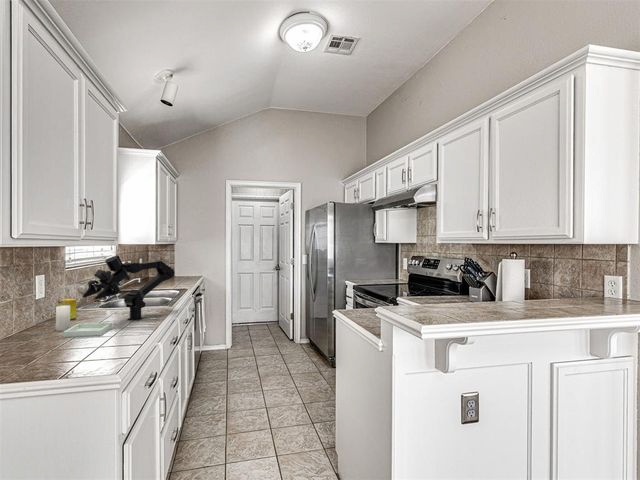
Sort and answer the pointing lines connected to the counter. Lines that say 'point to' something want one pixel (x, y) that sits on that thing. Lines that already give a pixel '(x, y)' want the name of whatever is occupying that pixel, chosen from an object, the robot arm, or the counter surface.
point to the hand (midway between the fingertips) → (89, 297)
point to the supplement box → (72, 306)
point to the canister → (62, 317)
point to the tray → (87, 330)
